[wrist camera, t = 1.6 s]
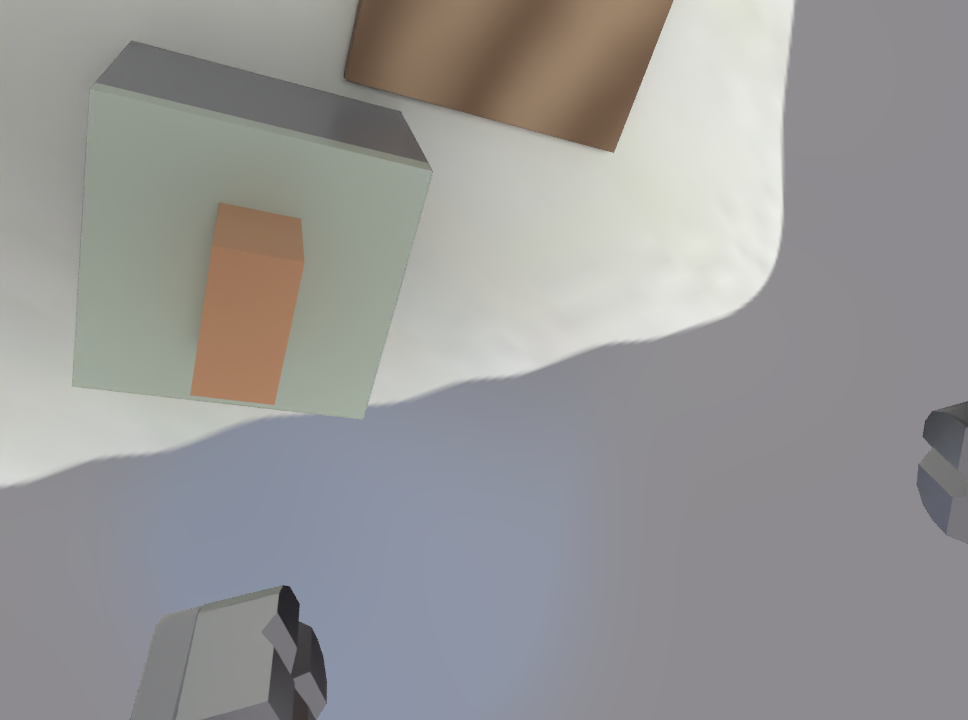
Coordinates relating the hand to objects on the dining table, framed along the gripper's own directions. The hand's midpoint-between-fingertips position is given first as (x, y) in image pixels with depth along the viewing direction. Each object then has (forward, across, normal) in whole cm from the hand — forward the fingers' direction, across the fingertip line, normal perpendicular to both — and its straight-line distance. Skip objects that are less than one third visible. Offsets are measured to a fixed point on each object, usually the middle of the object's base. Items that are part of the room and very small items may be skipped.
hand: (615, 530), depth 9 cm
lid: (+24, +9, +4) cm, 26 cm away
